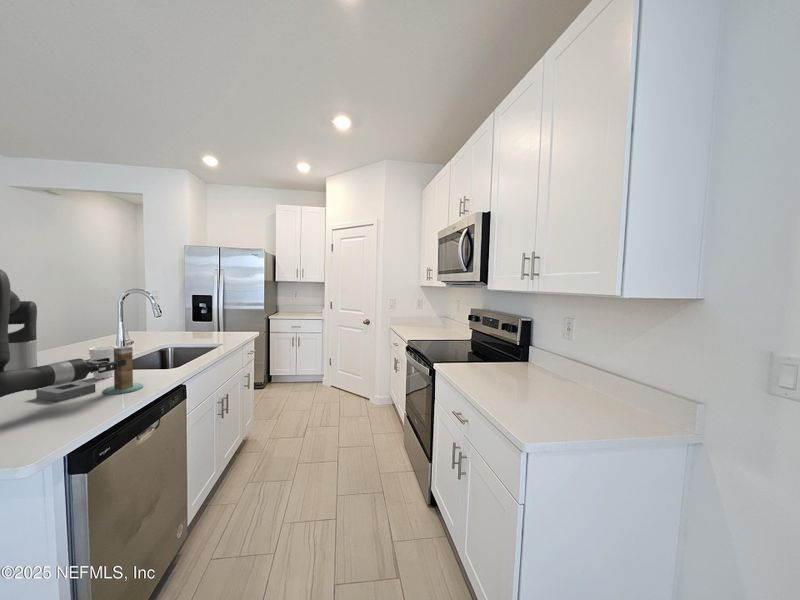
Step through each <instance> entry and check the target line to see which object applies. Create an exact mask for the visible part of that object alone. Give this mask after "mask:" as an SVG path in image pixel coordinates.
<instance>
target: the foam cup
mask: <svg viewBox="0 0 800 600" xmlns="http://www.w3.org/2000/svg"><path fill="white" fill-rule="evenodd" d="M118 347H119V346H118V345H101V346H93V347H89V348H88V355H89V357H90V358H89V359H92V360H94V359H97V360H98V359H103V358H109V359H110V362H113V361H114V348H118ZM104 365H105V364H104ZM111 367H112V365H111ZM92 374H93V378H95V379H94V380H103V379H102V378H105V379H109V378H108V377H110V378H112V377H111V376H113V375H114V370H112V371H107V372H102V373H98V372H96V373H92ZM113 377H114V376H113Z"/></svg>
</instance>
